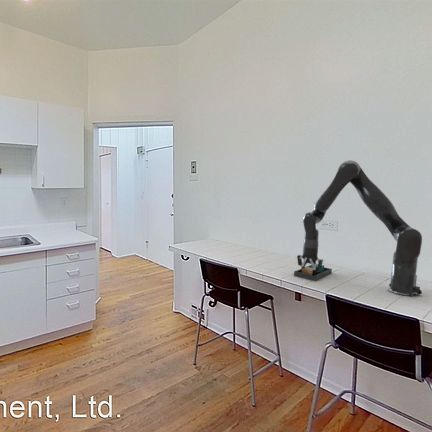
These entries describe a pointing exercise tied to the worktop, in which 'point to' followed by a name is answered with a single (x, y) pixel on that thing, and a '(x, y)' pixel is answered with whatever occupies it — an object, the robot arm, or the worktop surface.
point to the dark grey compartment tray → (310, 277)
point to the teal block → (319, 269)
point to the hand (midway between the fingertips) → (308, 274)
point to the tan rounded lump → (307, 270)
